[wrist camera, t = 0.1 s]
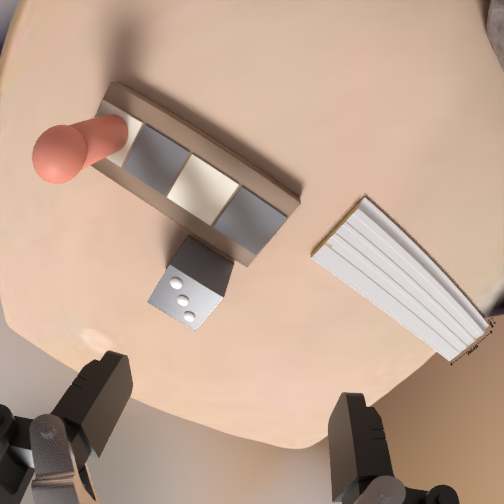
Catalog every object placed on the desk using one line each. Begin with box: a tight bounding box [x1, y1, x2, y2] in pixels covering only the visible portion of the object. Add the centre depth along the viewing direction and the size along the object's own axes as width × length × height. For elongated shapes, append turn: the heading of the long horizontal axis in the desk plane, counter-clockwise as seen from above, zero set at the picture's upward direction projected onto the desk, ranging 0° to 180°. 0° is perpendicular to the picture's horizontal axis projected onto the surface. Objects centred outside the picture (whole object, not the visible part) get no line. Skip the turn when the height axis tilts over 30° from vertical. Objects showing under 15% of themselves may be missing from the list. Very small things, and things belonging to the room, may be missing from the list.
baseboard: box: [311, 196, 495, 365], centre depth 33 cm, size 30×3×10 cm
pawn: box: [32, 114, 128, 184], centre depth 22 cm, size 5×5×11 cm
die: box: [148, 235, 234, 331], centre depth 32 cm, size 6×6×6 cm
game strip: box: [91, 82, 301, 267], centre depth 29 cm, size 9×22×2 cm, turn 56°
